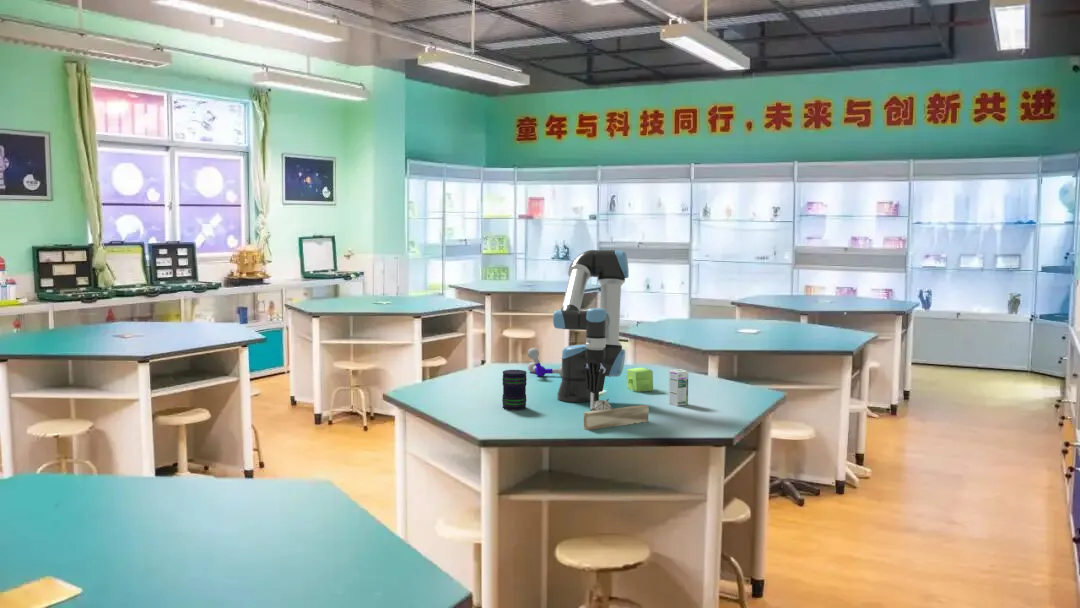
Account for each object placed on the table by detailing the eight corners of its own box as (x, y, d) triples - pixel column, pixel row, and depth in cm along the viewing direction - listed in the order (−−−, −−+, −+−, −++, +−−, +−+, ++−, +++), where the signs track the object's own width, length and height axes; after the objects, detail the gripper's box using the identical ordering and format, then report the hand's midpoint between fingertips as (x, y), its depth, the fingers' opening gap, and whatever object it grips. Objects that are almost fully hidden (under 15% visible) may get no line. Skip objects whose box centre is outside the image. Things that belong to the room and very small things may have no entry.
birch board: (583, 428, 320) (583, 412, 319) (643, 420, 334) (643, 404, 334) (588, 430, 317) (588, 413, 316) (648, 421, 332) (648, 406, 331)
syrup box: (676, 406, 361) (677, 371, 360) (668, 403, 367) (669, 369, 365) (688, 405, 364) (689, 370, 363) (679, 402, 369) (680, 368, 368)
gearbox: (619, 387, 405) (619, 367, 404) (639, 385, 408) (638, 365, 407) (635, 394, 388) (635, 373, 387) (656, 391, 391) (655, 371, 390)
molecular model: (569, 379, 422) (570, 349, 420) (527, 379, 422) (527, 348, 420) (568, 372, 443) (568, 343, 442) (527, 371, 443) (528, 342, 442)
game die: (604, 430, 333) (607, 414, 326) (585, 419, 336) (588, 403, 329) (615, 415, 338) (619, 399, 331) (596, 405, 341) (599, 388, 334)
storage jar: (518, 411, 347) (518, 374, 346) (497, 408, 352) (497, 372, 351) (530, 407, 356) (531, 371, 355) (510, 404, 361) (510, 368, 359)
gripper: (578, 346, 339) (576, 406, 341) (597, 351, 328) (596, 412, 330) (593, 345, 343) (592, 404, 345) (613, 350, 332) (612, 411, 334)
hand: (594, 408), depth 337 cm, fingers closed
